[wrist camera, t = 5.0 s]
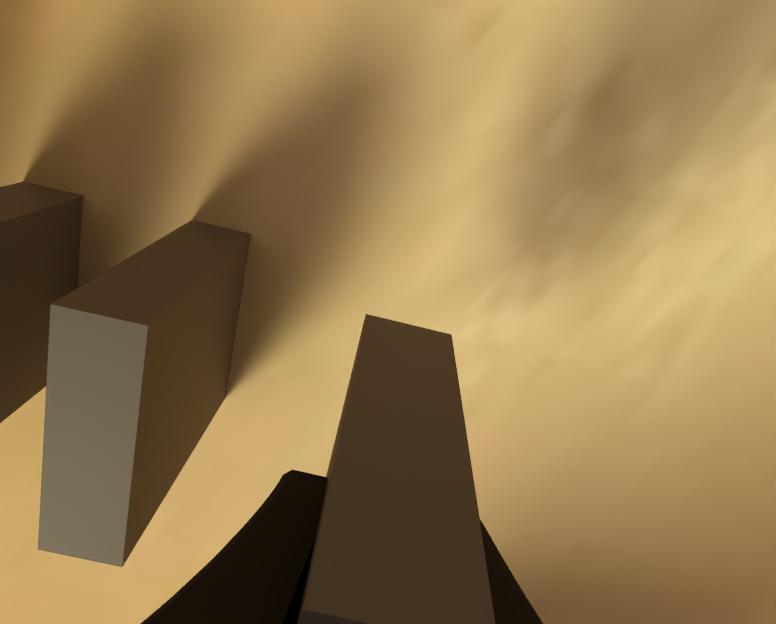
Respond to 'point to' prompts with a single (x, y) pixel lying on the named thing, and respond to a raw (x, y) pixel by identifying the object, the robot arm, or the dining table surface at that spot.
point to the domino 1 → (33, 281)
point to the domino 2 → (135, 386)
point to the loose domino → (399, 493)
